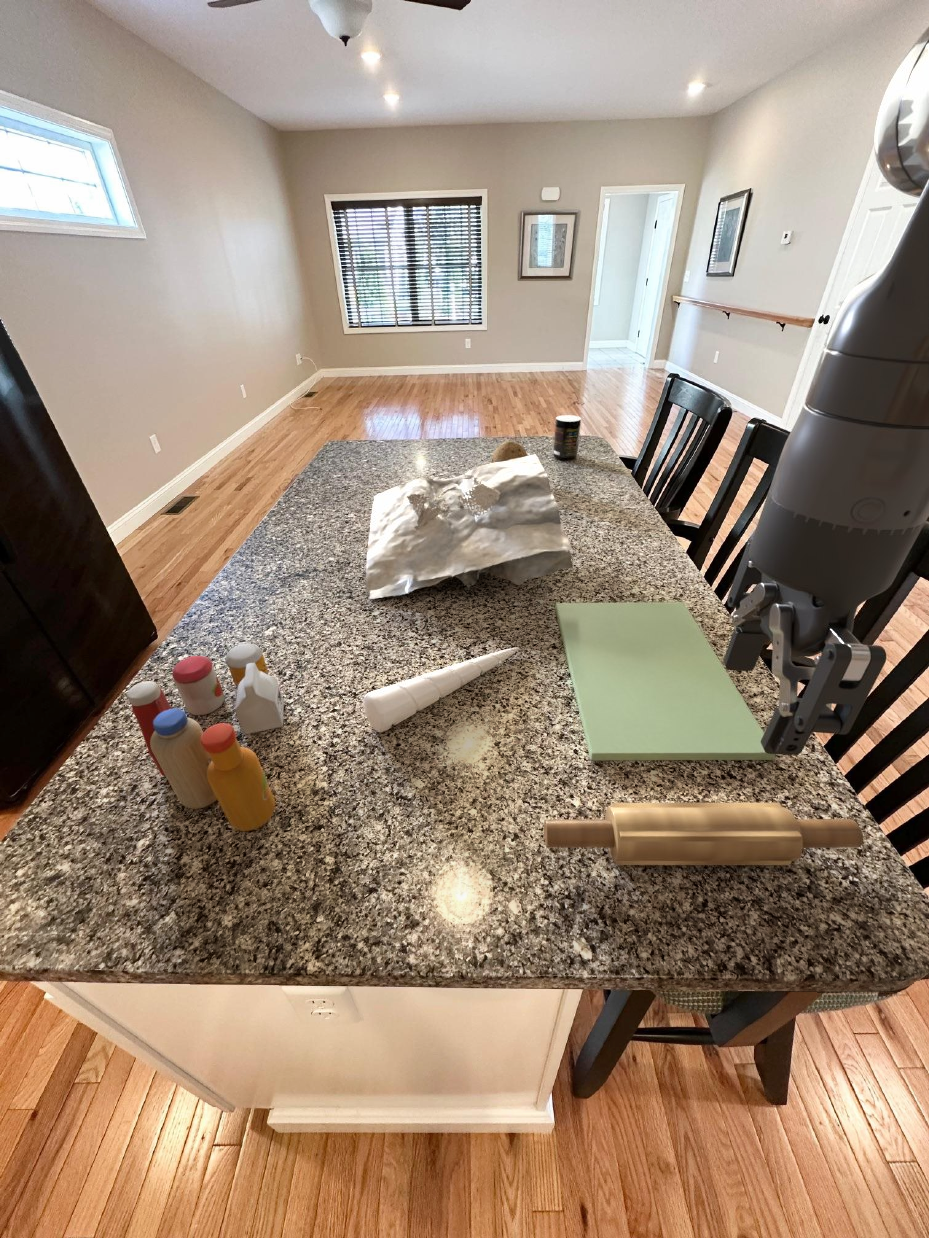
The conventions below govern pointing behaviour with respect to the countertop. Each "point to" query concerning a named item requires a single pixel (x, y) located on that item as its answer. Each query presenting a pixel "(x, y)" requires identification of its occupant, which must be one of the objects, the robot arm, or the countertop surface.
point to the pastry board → (653, 685)
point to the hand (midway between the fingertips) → (755, 705)
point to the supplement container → (566, 437)
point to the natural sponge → (508, 451)
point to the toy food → (213, 735)
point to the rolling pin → (702, 834)
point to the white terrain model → (466, 529)
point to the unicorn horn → (424, 690)
